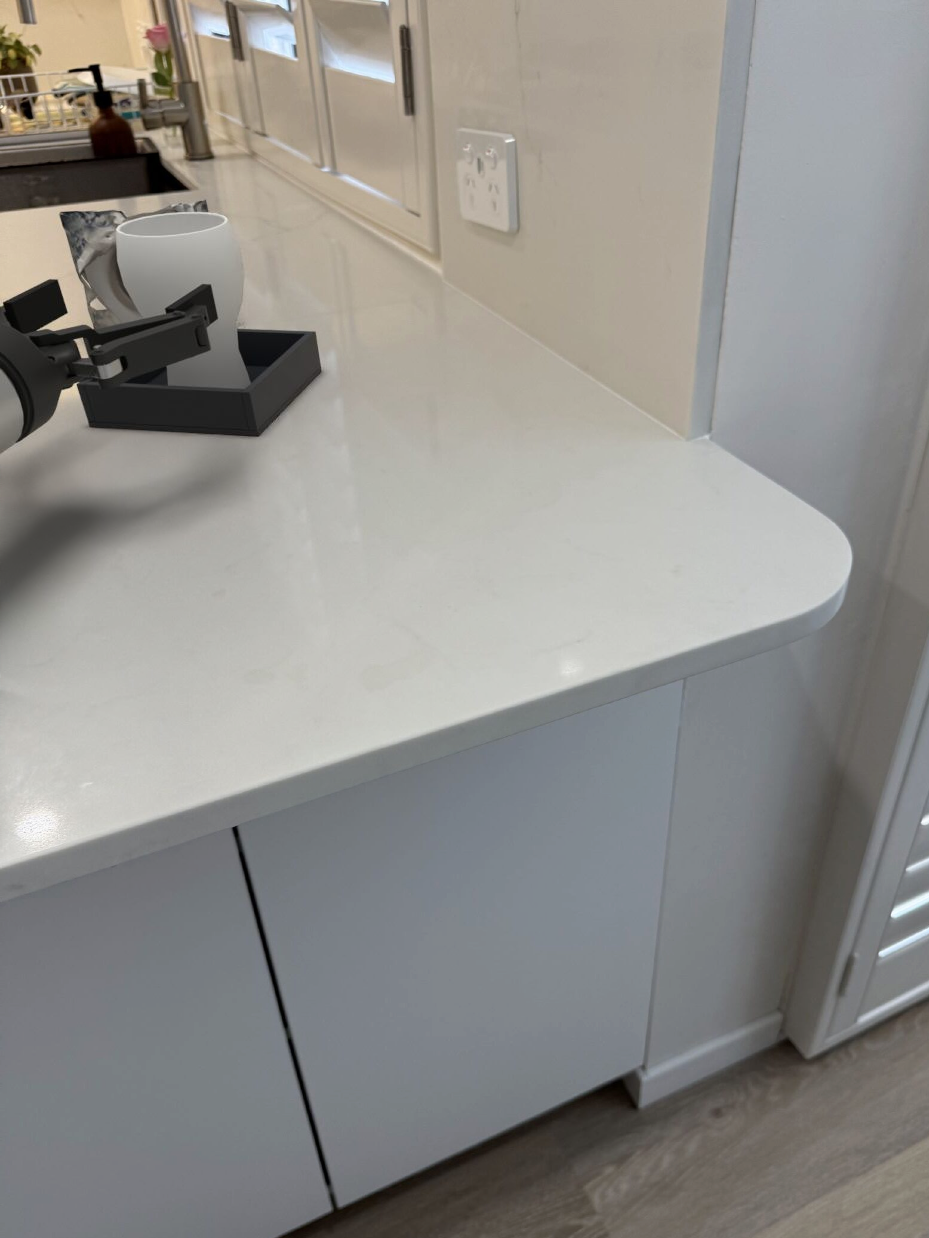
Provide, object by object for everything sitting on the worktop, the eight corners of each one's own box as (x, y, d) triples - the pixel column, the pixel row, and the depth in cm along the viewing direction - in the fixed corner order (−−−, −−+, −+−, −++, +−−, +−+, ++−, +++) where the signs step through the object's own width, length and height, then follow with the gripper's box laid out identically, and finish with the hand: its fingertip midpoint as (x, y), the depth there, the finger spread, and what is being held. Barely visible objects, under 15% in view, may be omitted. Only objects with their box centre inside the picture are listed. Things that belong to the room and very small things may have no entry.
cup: (205, 367, 97) (168, 206, 88) (288, 381, 93) (259, 215, 84) (130, 403, 89) (81, 232, 80) (218, 420, 86) (177, 242, 76)
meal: (227, 318, 112) (202, 196, 104) (235, 328, 109) (209, 203, 100) (95, 338, 107) (58, 211, 99) (99, 349, 104) (61, 219, 96)
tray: (89, 426, 87) (75, 384, 84) (172, 364, 99) (163, 325, 97) (258, 436, 84) (249, 392, 81) (321, 371, 97) (315, 331, 94)
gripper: (-166, 438, 66) (13, 339, 82) (165, 459, 62) (284, 350, 78) (-221, 329, 61) (-19, 246, 77) (134, 344, 57) (267, 254, 73)
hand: (133, 298), depth 78 cm, fingers open, 13 cm apart
